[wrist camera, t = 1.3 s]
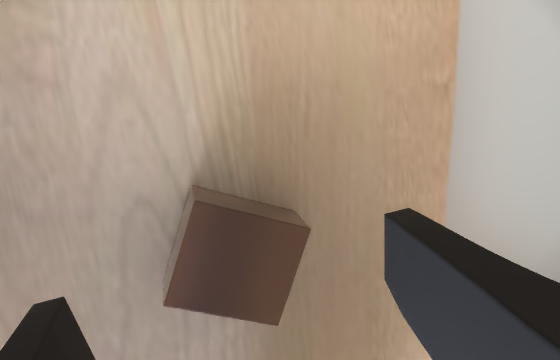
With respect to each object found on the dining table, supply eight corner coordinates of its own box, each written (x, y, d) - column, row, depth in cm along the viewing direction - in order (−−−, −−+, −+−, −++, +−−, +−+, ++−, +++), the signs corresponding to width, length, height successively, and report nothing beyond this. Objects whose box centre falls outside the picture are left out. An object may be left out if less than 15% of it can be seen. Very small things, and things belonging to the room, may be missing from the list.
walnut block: (295, 211, 26) (311, 228, 23) (266, 299, 27) (278, 326, 24) (190, 184, 24) (194, 200, 21) (162, 280, 25) (163, 307, 22)
